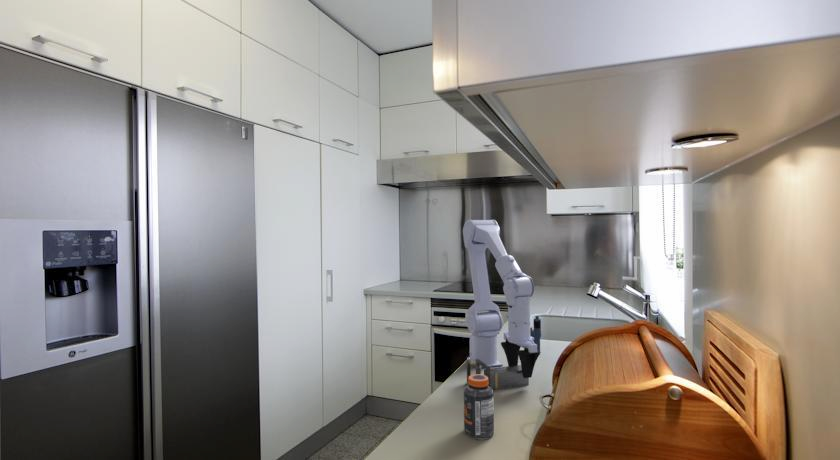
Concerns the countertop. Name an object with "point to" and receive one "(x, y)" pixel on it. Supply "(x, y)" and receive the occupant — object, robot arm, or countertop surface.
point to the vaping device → (536, 332)
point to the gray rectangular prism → (506, 377)
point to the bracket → (479, 362)
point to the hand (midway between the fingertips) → (519, 372)
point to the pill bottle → (478, 408)
